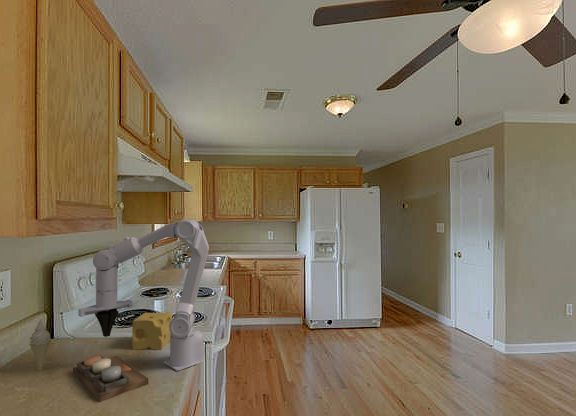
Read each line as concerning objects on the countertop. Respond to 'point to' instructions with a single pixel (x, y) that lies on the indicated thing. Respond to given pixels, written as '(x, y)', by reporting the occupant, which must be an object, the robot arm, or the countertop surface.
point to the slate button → (111, 373)
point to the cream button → (101, 365)
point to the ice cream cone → (40, 344)
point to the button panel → (110, 388)
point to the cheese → (151, 331)
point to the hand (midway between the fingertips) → (106, 335)
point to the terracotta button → (91, 360)
